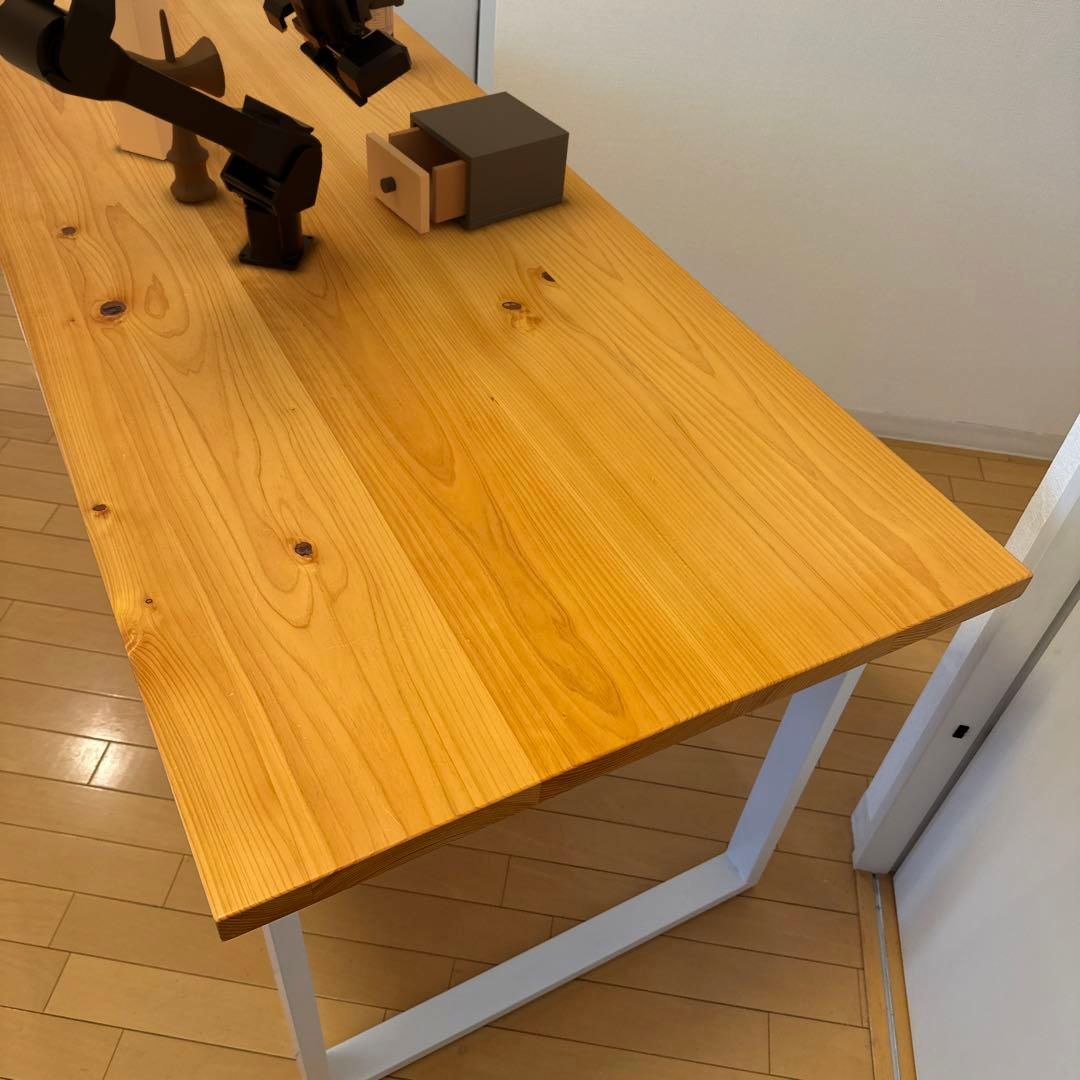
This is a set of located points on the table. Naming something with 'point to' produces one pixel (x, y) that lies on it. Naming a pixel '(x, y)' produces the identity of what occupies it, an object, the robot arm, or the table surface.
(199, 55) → the kendama
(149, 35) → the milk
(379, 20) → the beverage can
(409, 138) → the drawer
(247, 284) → the table surface
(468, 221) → the cabinet
